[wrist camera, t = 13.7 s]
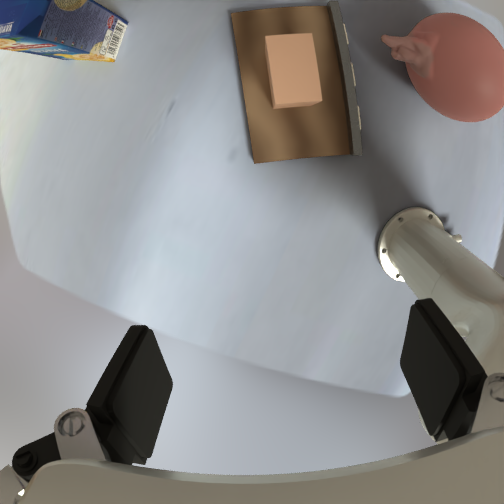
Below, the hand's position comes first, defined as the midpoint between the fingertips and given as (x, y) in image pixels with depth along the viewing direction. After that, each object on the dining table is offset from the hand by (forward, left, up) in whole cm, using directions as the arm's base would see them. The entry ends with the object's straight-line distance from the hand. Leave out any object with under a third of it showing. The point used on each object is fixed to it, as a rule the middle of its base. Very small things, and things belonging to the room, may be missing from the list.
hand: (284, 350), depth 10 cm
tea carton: (-4, -14, -33) cm, 36 cm away
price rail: (-12, -14, -34) cm, 39 cm away
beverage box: (+23, -28, -34) cm, 50 cm away
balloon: (-25, -16, -34) cm, 45 cm away
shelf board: (-5, -14, -34) cm, 37 cm away
